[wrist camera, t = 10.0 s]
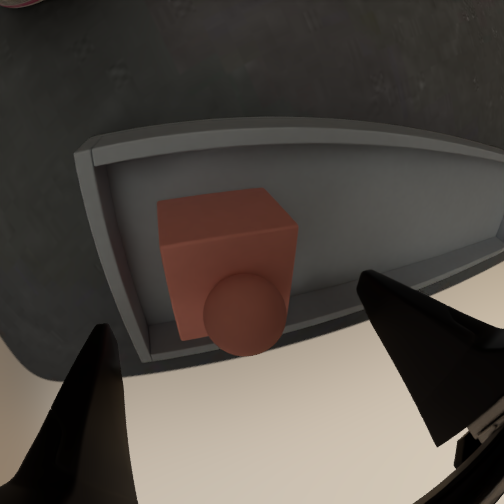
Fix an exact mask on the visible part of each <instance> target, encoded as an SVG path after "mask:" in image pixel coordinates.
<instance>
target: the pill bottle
mask: <svg viewBox="0 0 504 504" xmlns="http://www.w3.org/2000/svg"><path fill="white" fill-rule="evenodd" d="M41 1H44V0H0V5H1V6H4V7H9V8H21V7H26V6H30V5H33V4H36V3H39V2H41Z"/></svg>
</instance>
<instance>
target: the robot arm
mask: <svg viewBox="0 0 504 504" xmlns="http://www.w3.org/2000/svg"><path fill="white" fill-rule="evenodd" d="M356 291H357V294H358V296H359V298H360V301H361V303H362V305H363V307H364V309H365V311H366V313H367V315H368V318H369V320H370V322H371V324H372V326H373V328H374V329H375V331H376V333H377V334H378V336H379V338H380V339H381V341H382V343H383V345H384V347H385V348H386V350H387V352H388V354H389V355H390V357H391V359H392V360H393V362H394V364H395V366H396V368H397V370H398V372H399V373H400V375H401V377H402V379H403V381H404V383H405V384H406V386H407V388H408V390H409V392H410V394H411V396H412V398H413V400H414V402H415V404H416V406H417V407H418V410H419V412H420V414H421V416H422V418H423V420H424V422H425V424H426V426H427V428H428V430H429V432H430V435H431V437H432V439H433V441H434V443H435V445H436V446H437V447H439V446H440V445H442V444H443V443H445V442H446V441H448V440H449V439H451V438H452V437H454V436H455V435H456V434H458V433H459V432H461V431H462V430H463V429H465V428H466V427H467V428H468V430H469V431H468V432H467V433H466V434H465V435H464V436H463V437H461V438H460V439H459V440H458V441H457V448H456V454H455V460H454V467H455V468H456V470H455V471H454V472H453V473H451V474H450V475H449V476H448V477H447V478H446V479H444V480H443V481H442V482H441V483H440V484H439V485H437V486H436V487H435V488H433V489H432V490H431V491H430V492H428V493H427V494H426V495H424V496H423V497H422V498H420V499H419V500H418V501H416V502H415V503H413V504H495V503H496V502H497V501H498V500H499V499H500V497H501V496H502V495H503V494H504V329H500V328H496V327H494V326H492V325H489V324H487V323H484V322H482V321H480V320H477V319H475V318H473V317H471V316H468V315H466V314H464V313H462V312H459V311H458V310H456V309H454V308H452V307H450V306H447V305H445V304H443V303H441V302H439V301H437V300H435V299H433V298H431V297H429V296H427V295H425V294H423V293H421V292H419V291H417V290H415V289H413V288H411V287H409V286H406V285H404V284H402V283H400V282H398V281H396V280H394V279H392V278H390V277H387V276H385V275H383V274H381V273H379V272H377V271H375V270H372V269H369V270H365V271H362V272H361V274H360V277H359V280H358V284H357V287H356ZM51 409H52V410H51ZM51 409H50V410H49V412H48V415H47V417H46V419H45V421H44V423H43V425H42V427H41V429H40V431H39V433H38V435H37V437H36V439H35V440H34V442H33V444H32V446H31V448H30V449H29V451H28V453H27V455H26V457H25V459H24V460H23V462H22V464H21V466H20V468H19V470H18V472H17V473H16V474H15V476H14V477H13V478H12V479H11V480H10V481H9V482H7V483H6V484H4V485H2V486H1V487H0V504H138V501H137V496H136V491H135V486H134V480H133V474H132V468H131V461H130V454H129V447H128V437H127V429H126V417H125V404H124V388H123V381H122V374H121V367H120V360H119V352H118V344H117V340H116V338H115V336H114V334H113V332H112V330H111V328H110V326H109V324H107V323H104V324H97V325H96V326H95V327H94V329H93V330H92V332H91V334H90V335H89V337H88V339H87V341H86V342H85V344H84V346H83V348H82V349H81V351H80V353H79V355H78V356H77V358H76V360H75V362H74V364H73V365H72V367H71V369H70V371H69V373H68V375H67V377H66V379H65V380H64V382H63V384H62V386H61V388H60V390H59V392H58V394H57V396H56V398H55V400H54V402H53V404H52V406H51Z"/></svg>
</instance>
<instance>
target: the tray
mask: <svg viewBox="0 0 504 504" xmlns="http://www.w3.org/2000/svg"><path fill="white" fill-rule="evenodd" d="M74 159H75V164H76V170H77V175H78V179H79V184H80V189H81V193H82V197H83V201H84V205H85V209H86V213H87V217H88V221H89V224H90V228H91V231H92V235H93V238H94V242H95V245H96V248H97V251H98V255H99V258H100V261H101V264H102V267H103V270H104V273H105V275H106V278H107V281H108V284H109V287H110V289H111V292H112V295H113V297H114V300H115V302H116V305H117V307H118V310H119V312H120V315H121V317H122V320H123V322H124V324H125V327H126V329H127V331H128V334H129V336H130V338H131V340H132V342H133V345H134V347H135V349H136V351H137V353H138V355H139V357H140V359H141V362H142V363H145V362H152V361H158V360H164V359H170V358H176V357H182V356H187V355H192V354H197V353H202V352H207V351H212V350H217V349H220V348H219V347H218V346H217V345H216V344H215V343H214V342H213V341H212V340H211V339H210V337H209V336H206V337H201V338H196V339H191V340H186V341H182V340H181V339H180V336H179V332H178V328H177V324H176V320H175V316H174V312H173V308H172V304H171V299H170V295H169V291H168V286H167V282H166V277H165V272H164V268H163V263H162V258H161V252H160V246H159V233H158V217H157V202H158V201H161V200H168V199H174V198H181V197H188V196H195V195H202V194H210V193H218V192H226V191H234V190H243V189H252V188H264V189H265V190H266V191H267V192H268V193H269V194H270V195H271V196H272V197H273V198H274V199H275V200H276V201H277V202H278V203H279V205H280V206H281V207H282V208H283V209H284V210H285V211H286V212H287V213H288V214H289V215H290V217H291V218H292V219H293V220H294V221H295V222H296V223H297V224H298V226H299V229H298V237H297V246H296V254H295V262H294V270H293V277H292V285H291V292H290V299H289V306H288V313H287V318H286V324H285V328H284V331H283V333H282V334H284V333H287V332H291V331H295V330H298V329H302V328H305V327H309V326H312V325H316V324H319V323H322V322H326V321H329V320H332V319H335V318H339V317H342V316H345V315H348V314H351V313H354V312H357V311H360V310H363V309H364V307H363V305H362V303H361V301H360V298H359V296H358V294H357V291H356V287H357V284H358V280H359V277H360V274H361V272H362V271H365V270H369V269H372V270H375V271H377V272H379V273H381V274H383V275H385V276H387V277H390V278H392V279H394V280H396V281H398V282H400V283H402V284H404V285H406V286H409V287H411V288H413V289H415V290H418V289H420V288H423V287H425V286H428V285H430V284H433V283H435V282H437V281H440V280H442V279H445V278H447V277H449V276H452V275H454V274H456V273H458V272H461V271H463V270H465V269H467V268H469V267H472V266H474V265H476V264H478V263H480V262H482V261H484V260H487V259H489V258H491V257H493V256H495V255H497V254H499V253H501V252H503V251H504V150H503V149H499V148H496V147H493V146H490V145H486V144H483V143H479V142H475V141H472V140H468V139H464V138H460V137H456V136H451V135H447V134H442V133H437V132H433V131H427V130H422V129H417V128H411V127H405V126H398V125H391V124H384V123H376V122H368V121H358V120H347V119H334V118H317V117H235V118H218V119H204V120H193V121H184V122H175V123H167V124H159V125H152V126H146V127H139V128H133V129H128V130H122V131H117V132H112V133H107V134H102V135H98V136H93V137H90V138H89V139H88V140H87V141H86V142H85V143H84V144H83V145H82V146H81V147H80V148H79V149H78V150H77V151H76V152H75V153H74Z"/></svg>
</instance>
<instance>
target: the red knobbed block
mask: <svg viewBox="0 0 504 504" xmlns="http://www.w3.org/2000/svg"><path fill="white" fill-rule="evenodd" d="M157 217H158V233H159V246H160V252H161V258H162V263H163V268H164V272H165V277H166V282H167V286H168V291H169V295H170V299H171V304H172V308H173V312H174V316H175V320H176V324H177V328H178V332H179V336H180V339H181V340H182V341H186V340H191V339H196V338H201V337H206V336H209V337H210V339H211V340H212V341H213V342H214V343H215V344H216V345H217V346H218V347H219V348H220V349H222V350H224V351H225V352H227V353H230V354H233V355H236V356H253V355H257V354H260V353H262V352H264V351H266V350H268V349H269V348H271V347H272V346H273V345H274V344H275V343H276V342H277V341H278V339H279V338H280V337H281V335H282V333H283V331H284V328H285V324H286V318H287V313H288V306H289V299H290V292H291V285H292V277H293V270H294V262H295V254H296V246H297V237H298V229H299V226H298V224H297V223H296V222H295V221H294V220H293V219H292V218H291V217H290V215H289V214H288V213H287V212H286V211H285V210H284V209H283V208H282V207H281V206H280V205H279V203H278V202H277V201H276V200H275V199H274V198H273V197H272V196H271V195H270V194H269V193H268V192H267V191H266V190H265V189H264V188H252V189H243V190H234V191H226V192H218V193H210V194H202V195H195V196H188V197H181V198H174V199H168V200H161V201H158V202H157Z"/></svg>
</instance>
